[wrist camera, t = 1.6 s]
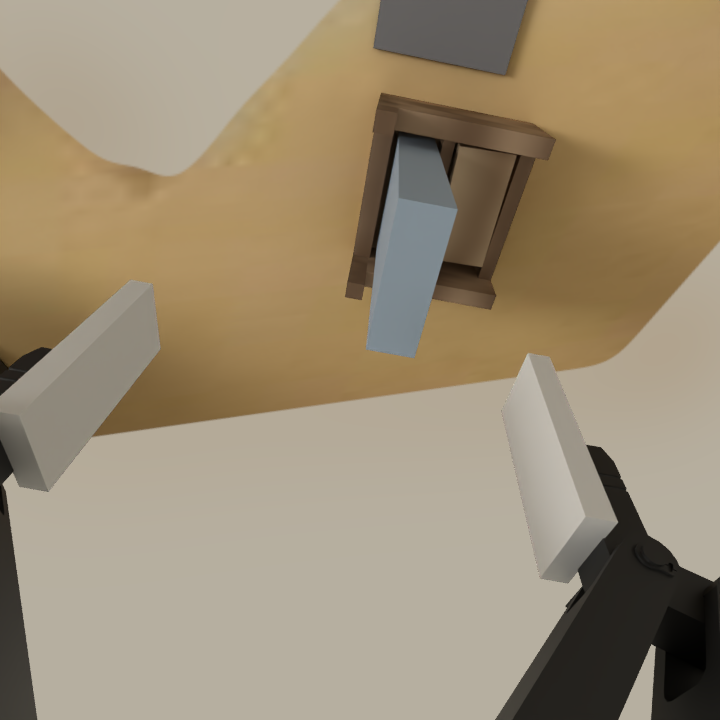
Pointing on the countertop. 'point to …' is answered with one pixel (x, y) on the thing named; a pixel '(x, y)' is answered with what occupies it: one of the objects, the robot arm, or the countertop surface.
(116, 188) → the countertop surface
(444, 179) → the blue rectangular block
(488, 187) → the offcut top
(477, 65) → the mat
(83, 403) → the robot arm
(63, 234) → the countertop surface
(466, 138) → the rack
